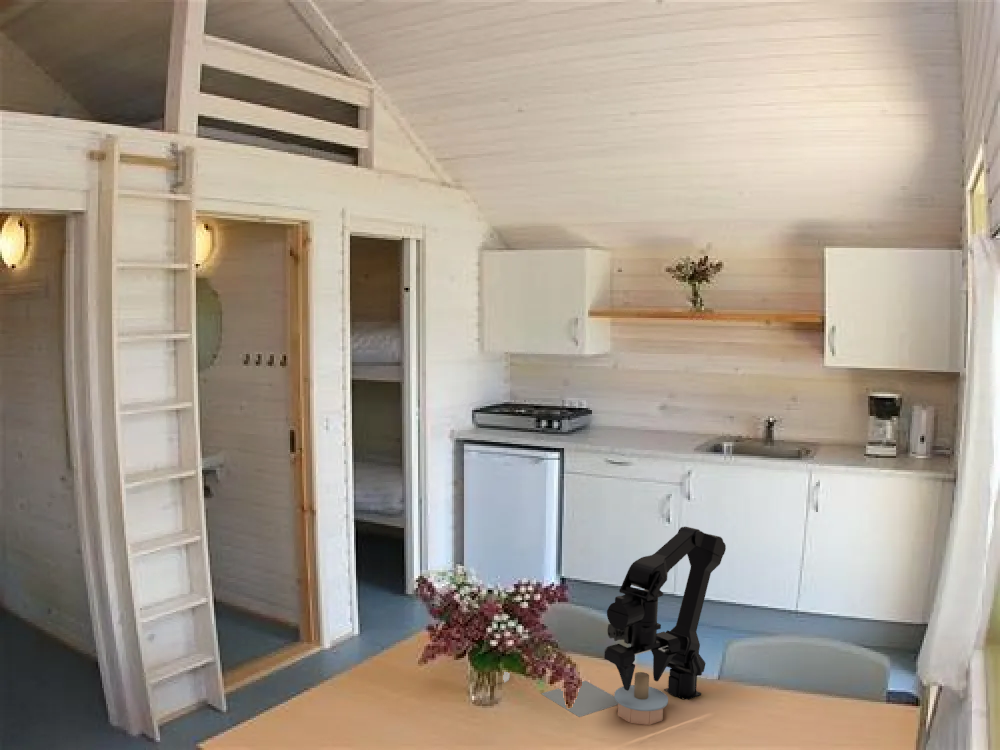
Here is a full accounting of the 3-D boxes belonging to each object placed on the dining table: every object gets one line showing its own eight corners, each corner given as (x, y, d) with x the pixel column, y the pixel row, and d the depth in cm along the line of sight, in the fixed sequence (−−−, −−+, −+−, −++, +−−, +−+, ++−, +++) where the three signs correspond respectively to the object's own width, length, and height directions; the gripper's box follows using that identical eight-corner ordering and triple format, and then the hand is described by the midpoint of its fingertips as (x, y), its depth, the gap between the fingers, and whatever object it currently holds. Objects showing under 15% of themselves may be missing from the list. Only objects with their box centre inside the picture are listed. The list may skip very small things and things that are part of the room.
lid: (641, 683, 208) (642, 660, 208) (679, 702, 199) (680, 678, 198) (603, 695, 201) (604, 671, 201) (640, 715, 192) (641, 690, 191)
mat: (585, 682, 217) (585, 680, 217) (624, 704, 206) (625, 702, 206) (540, 695, 209) (540, 693, 209) (579, 719, 198) (579, 716, 198)
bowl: (640, 702, 207) (641, 685, 207) (671, 719, 199) (672, 702, 199) (608, 712, 201) (609, 695, 201) (639, 730, 193) (640, 712, 193)
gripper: (648, 600, 210) (645, 664, 212) (589, 614, 200) (586, 681, 201) (683, 614, 201) (680, 681, 203) (623, 630, 191) (620, 700, 192)
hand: (641, 685), depth 200 cm, fingers open, 9 cm apart
